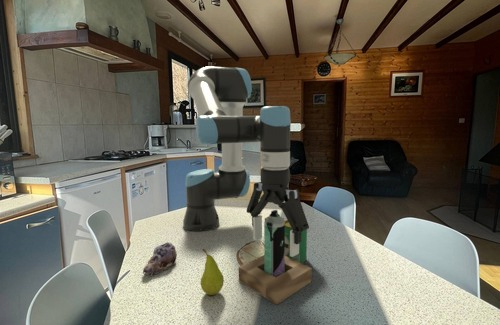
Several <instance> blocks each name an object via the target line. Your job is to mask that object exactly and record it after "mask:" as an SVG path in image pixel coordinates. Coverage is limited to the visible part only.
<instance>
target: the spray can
mask: <svg viewBox="0 0 500 325" xmlns="http://www.w3.org/2000/svg"><path fill="white" fill-rule="evenodd" d="M284 221H286V220H285V218H284V217H282V216H281V215H280V214H279V211H278V210H277V209H274V210H271V211H270V214H269V215H268V216H267V217H265V218H264V221H263V233H264V234H263V235H264V237H263V241H264V242H263V244H264V245H263V248H264V249H263V250H264V252H263V253H264V254H263V255H264V272H266V273H268V274H270V275H272V276H273V277H275V278H276V277H278V276H279V275H281V274H283V273H285V222H284Z"/></svg>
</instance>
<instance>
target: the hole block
mask: <svg viewBox="0 0 500 325" xmlns="http://www.w3.org/2000/svg"><path fill="white" fill-rule="evenodd" d="M237 269H238V281H239V282H240V283H242V284H243V285H245V286H247V287H249V288H250V289H252V290H253V291H255V292H256V293H257V294H258V295H260V296H262V297H263V298H264V299H266V300H268V301H269V302H271V303H273V304H274V305H275V306H277V305H279V304H280V303H282V302H283V301H284V300H287V298H290V297H291V296H292V295H294V294H295V293H297V292H298V291H300V290H301V289H303V288H304V287H306V286H307V285H308V284H310V283H311V282H312V270H313V269H312V267H310V266H308V265H306V264H304V263H303V264H302V263H300V262H297V261H295V260H293V259H291V258H289V257H287V256H285V273H283V274H281V275H279V276H278V277H276V278H275V277H273V276H272V275H270V274H268V273H266V272H264V254H263V255H261V256H258V257H257V258H254V259H252V260H250V261H249V262H246V263H243V264H242V265H240V266H238V268H237Z"/></svg>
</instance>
